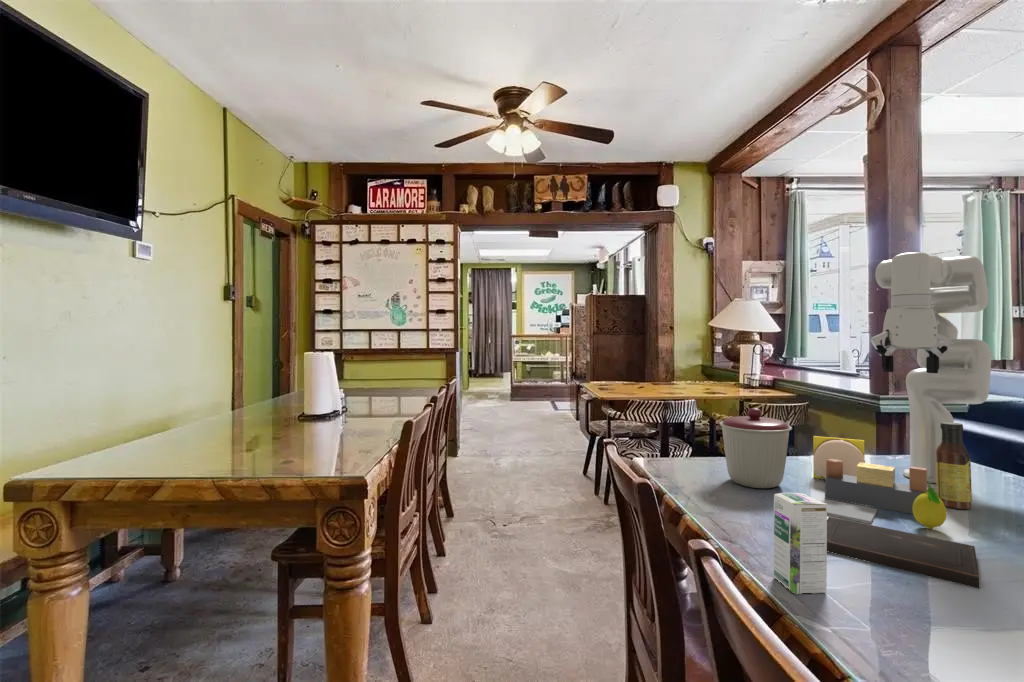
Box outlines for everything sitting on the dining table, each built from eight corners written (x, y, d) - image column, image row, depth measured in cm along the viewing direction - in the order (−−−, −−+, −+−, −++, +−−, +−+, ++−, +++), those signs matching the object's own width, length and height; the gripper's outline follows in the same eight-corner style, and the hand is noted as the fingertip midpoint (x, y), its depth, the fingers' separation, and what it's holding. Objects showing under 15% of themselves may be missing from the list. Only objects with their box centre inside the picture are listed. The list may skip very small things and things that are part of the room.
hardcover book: (829, 526, 106) (829, 516, 106) (974, 558, 91) (974, 545, 91) (814, 551, 94) (814, 539, 94) (979, 592, 79) (979, 578, 79)
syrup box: (771, 577, 83) (771, 492, 83) (804, 576, 83) (804, 491, 83) (793, 595, 77) (793, 504, 77) (829, 593, 78) (828, 502, 77)
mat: (826, 502, 120) (826, 499, 120) (877, 511, 113) (877, 509, 113) (817, 513, 113) (817, 510, 113) (871, 524, 106) (871, 521, 106)
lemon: (939, 537, 99) (939, 488, 99) (905, 527, 104) (905, 480, 104) (955, 531, 102) (954, 483, 102) (921, 521, 107) (921, 476, 107)
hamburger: (813, 482, 136) (813, 439, 136) (813, 475, 144) (813, 434, 143) (866, 489, 130) (866, 444, 130) (863, 481, 137) (863, 438, 137)
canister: (793, 480, 139) (793, 406, 139) (790, 497, 124) (790, 415, 123) (725, 471, 148) (725, 402, 148) (714, 486, 133) (714, 409, 133)
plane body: (829, 491, 129) (829, 453, 129) (930, 509, 115) (930, 466, 115) (823, 497, 124) (823, 458, 123) (928, 517, 110) (928, 472, 110)
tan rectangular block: (859, 477, 123) (859, 462, 123) (894, 483, 118) (894, 467, 118) (856, 482, 120) (856, 466, 120) (892, 488, 115) (892, 471, 115)
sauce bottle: (978, 511, 113) (978, 426, 113) (947, 509, 114) (947, 425, 114) (959, 502, 119) (958, 421, 119) (929, 500, 121) (929, 420, 121)
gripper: (939, 305, 123) (939, 372, 122) (863, 304, 126) (862, 370, 125) (961, 302, 115) (961, 374, 115) (880, 301, 118) (879, 372, 118)
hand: (909, 372), depth 120 cm, fingers open, 9 cm apart
